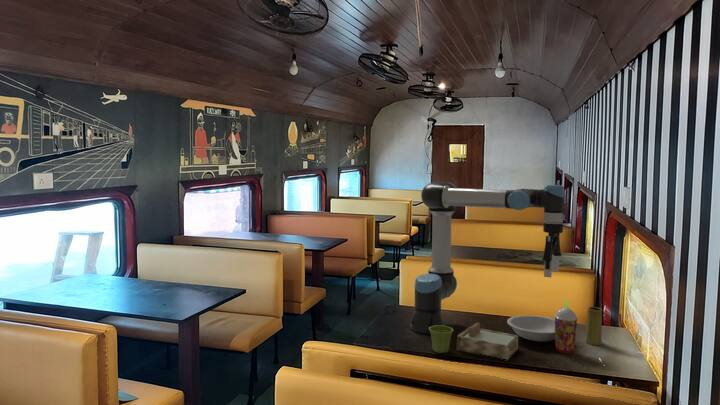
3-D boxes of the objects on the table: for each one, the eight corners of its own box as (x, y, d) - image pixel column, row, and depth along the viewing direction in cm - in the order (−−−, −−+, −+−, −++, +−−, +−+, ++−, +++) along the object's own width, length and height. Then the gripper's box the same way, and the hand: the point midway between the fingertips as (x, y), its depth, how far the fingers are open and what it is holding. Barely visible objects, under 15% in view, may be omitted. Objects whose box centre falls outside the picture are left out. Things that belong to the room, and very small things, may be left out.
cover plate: (462, 340, 204) (462, 328, 204) (473, 331, 214) (473, 320, 214) (506, 348, 195) (506, 336, 194) (515, 339, 205) (515, 327, 204)
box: (456, 349, 204) (456, 335, 204) (469, 339, 216) (469, 326, 216) (507, 360, 194) (507, 345, 193) (517, 349, 205) (518, 335, 205)
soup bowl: (572, 351, 204) (572, 334, 204) (508, 346, 209) (509, 330, 208) (561, 331, 228) (561, 317, 227) (504, 328, 232) (505, 313, 232)
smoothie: (549, 347, 207) (551, 298, 206) (569, 347, 208) (571, 298, 207) (559, 355, 199) (561, 304, 198) (580, 354, 200) (582, 303, 198)
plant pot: (434, 344, 210) (434, 323, 210) (456, 349, 205) (456, 327, 205) (424, 351, 202) (425, 330, 201) (447, 356, 197) (448, 334, 197)
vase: (600, 341, 216) (602, 307, 214) (602, 346, 210) (604, 311, 209) (584, 339, 218) (586, 306, 216) (586, 344, 212) (587, 309, 211)
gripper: (556, 226, 199) (554, 280, 201) (569, 220, 220) (567, 270, 222) (536, 225, 204) (534, 278, 205) (550, 219, 224) (549, 268, 226)
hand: (551, 274), depth 214 cm, fingers open, 13 cm apart
